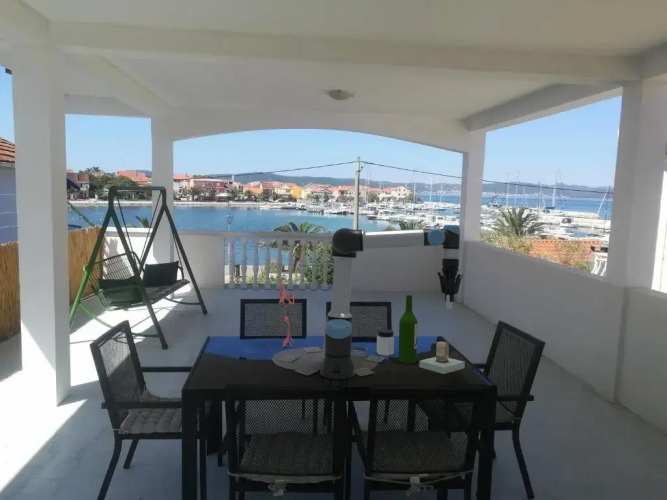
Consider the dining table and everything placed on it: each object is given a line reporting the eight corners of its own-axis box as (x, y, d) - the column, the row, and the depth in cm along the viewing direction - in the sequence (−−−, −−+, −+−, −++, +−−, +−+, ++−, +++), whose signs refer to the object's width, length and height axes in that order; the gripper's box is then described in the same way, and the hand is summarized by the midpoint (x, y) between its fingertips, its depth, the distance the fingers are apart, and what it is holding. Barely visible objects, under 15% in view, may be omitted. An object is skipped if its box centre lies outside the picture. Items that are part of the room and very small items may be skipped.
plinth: (443, 374, 219) (443, 367, 219) (419, 367, 230) (419, 360, 230) (464, 368, 230) (464, 361, 229) (440, 361, 240) (440, 355, 240)
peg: (442, 369, 227) (443, 343, 226) (435, 367, 230) (436, 342, 230) (448, 367, 230) (448, 342, 229) (441, 366, 233) (441, 341, 232)
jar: (385, 356, 248) (386, 333, 247) (373, 353, 253) (374, 330, 253) (396, 353, 254) (397, 331, 253) (384, 350, 260) (385, 328, 259)
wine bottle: (416, 364, 234) (418, 297, 233) (397, 363, 236) (399, 296, 235) (416, 359, 243) (418, 294, 242) (398, 358, 245) (400, 294, 243)
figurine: (296, 340, 280) (296, 279, 278) (293, 351, 254) (292, 284, 252) (269, 340, 280) (269, 279, 278) (263, 351, 254) (263, 284, 252)
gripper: (467, 258, 223) (465, 309, 224) (444, 257, 233) (442, 306, 234) (457, 259, 218) (456, 311, 219) (434, 257, 228) (432, 307, 229)
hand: (449, 308), depth 226 cm, fingers closed
